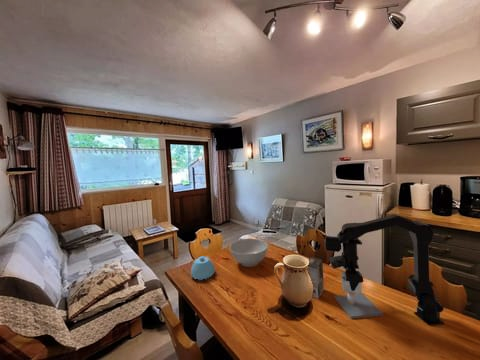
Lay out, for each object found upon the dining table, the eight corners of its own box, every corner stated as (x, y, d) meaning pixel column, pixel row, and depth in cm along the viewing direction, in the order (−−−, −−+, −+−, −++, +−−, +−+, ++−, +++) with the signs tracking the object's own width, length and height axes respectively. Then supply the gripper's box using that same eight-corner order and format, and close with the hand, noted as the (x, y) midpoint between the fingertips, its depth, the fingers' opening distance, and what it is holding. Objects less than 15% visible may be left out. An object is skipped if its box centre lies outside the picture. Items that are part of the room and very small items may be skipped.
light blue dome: (213, 280, 117) (211, 262, 117) (188, 282, 118) (186, 263, 117) (216, 267, 132) (215, 251, 132) (194, 269, 133) (193, 252, 132)
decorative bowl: (225, 259, 143) (223, 243, 142) (257, 251, 154) (256, 236, 153) (240, 277, 119) (239, 258, 118) (277, 265, 130) (276, 247, 129)
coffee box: (311, 285, 107) (310, 256, 106) (324, 289, 102) (323, 259, 101) (305, 294, 100) (304, 263, 98) (318, 299, 95) (317, 267, 94)
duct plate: (362, 295, 96) (362, 282, 96) (383, 315, 83) (382, 300, 83) (334, 298, 95) (334, 285, 95) (351, 318, 82) (350, 304, 82)
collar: (358, 284, 92) (357, 274, 91) (361, 293, 85) (361, 282, 85) (341, 282, 94) (340, 272, 94) (343, 291, 87) (343, 280, 87)
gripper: (328, 243, 100) (330, 272, 101) (332, 260, 83) (333, 295, 84) (353, 244, 96) (354, 275, 97) (362, 263, 79) (364, 300, 80)
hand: (351, 285), depth 89 cm, fingers closed on collar, 7 cm apart
